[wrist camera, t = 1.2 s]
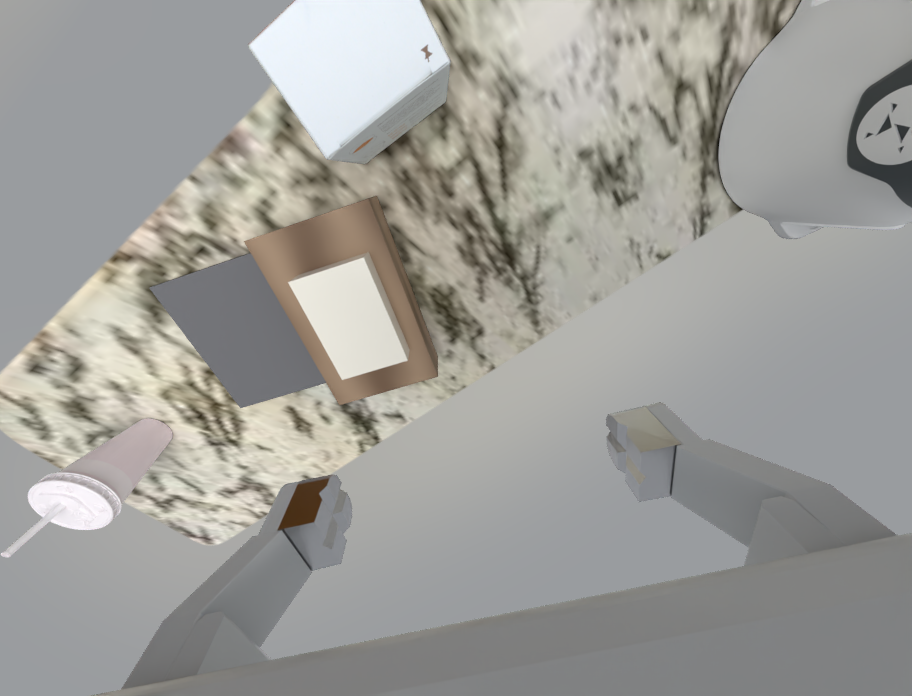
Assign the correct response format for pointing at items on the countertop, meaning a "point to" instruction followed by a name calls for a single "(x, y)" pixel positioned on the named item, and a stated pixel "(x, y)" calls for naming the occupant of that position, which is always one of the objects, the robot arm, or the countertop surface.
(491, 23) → the countertop surface
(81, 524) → the smoothie
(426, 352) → the brown wooden block
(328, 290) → the tile
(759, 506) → the robot arm
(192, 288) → the mat
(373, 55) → the small box
